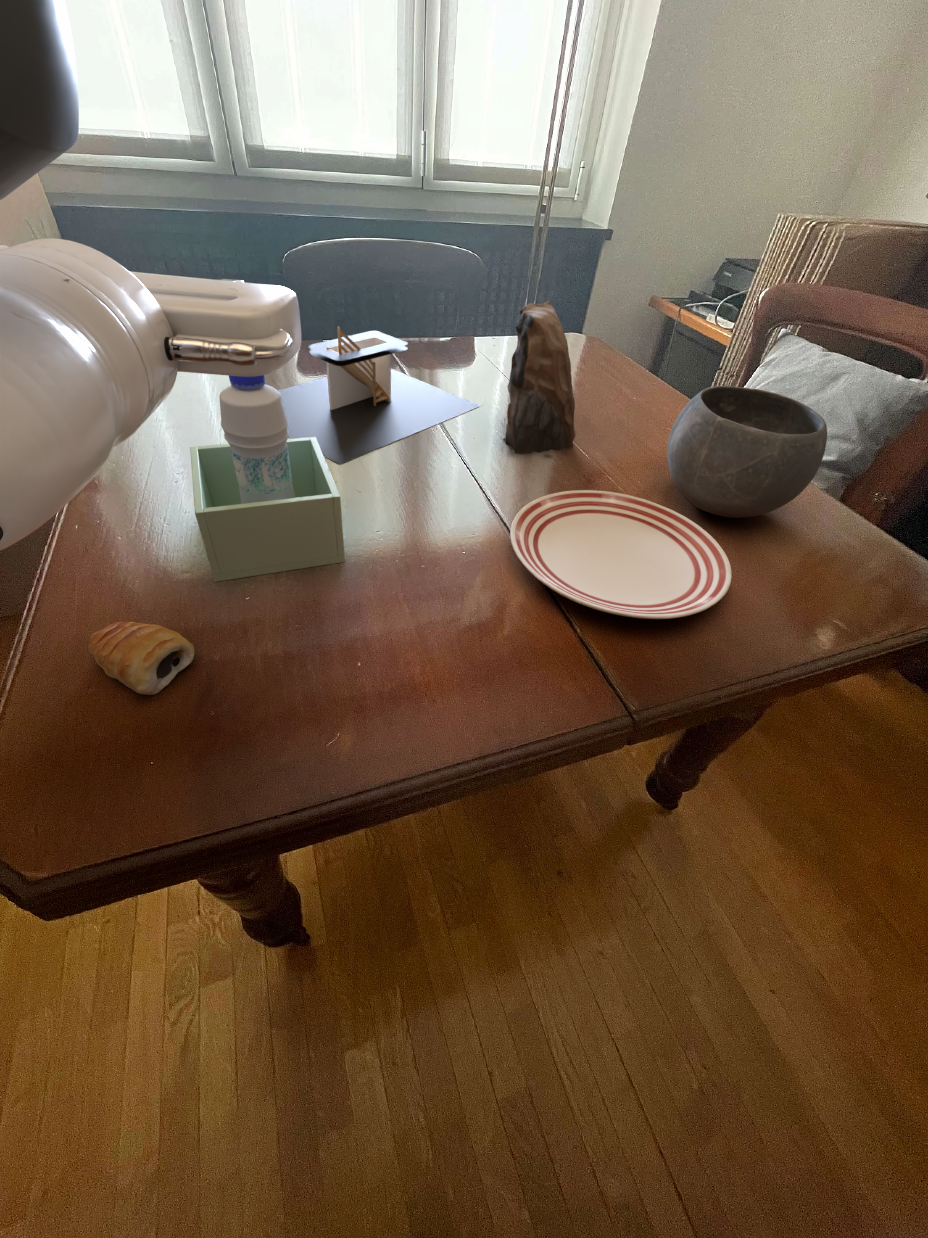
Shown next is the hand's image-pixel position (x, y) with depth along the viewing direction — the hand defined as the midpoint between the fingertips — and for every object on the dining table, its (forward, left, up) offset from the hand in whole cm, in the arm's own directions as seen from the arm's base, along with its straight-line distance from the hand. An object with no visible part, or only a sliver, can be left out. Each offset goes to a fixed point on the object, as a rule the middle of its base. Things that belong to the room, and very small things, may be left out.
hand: (167, 286), depth 39 cm
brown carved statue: (+51, +29, -30) cm, 66 cm away
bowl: (+70, +4, -30) cm, 76 cm away
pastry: (-10, -7, -30) cm, 32 cm away
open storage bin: (+5, +11, -30) cm, 32 cm away
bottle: (+5, +11, -29) cm, 31 cm away
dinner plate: (+45, -5, -30) cm, 54 cm away
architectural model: (+24, +48, -30) cm, 62 cm away
